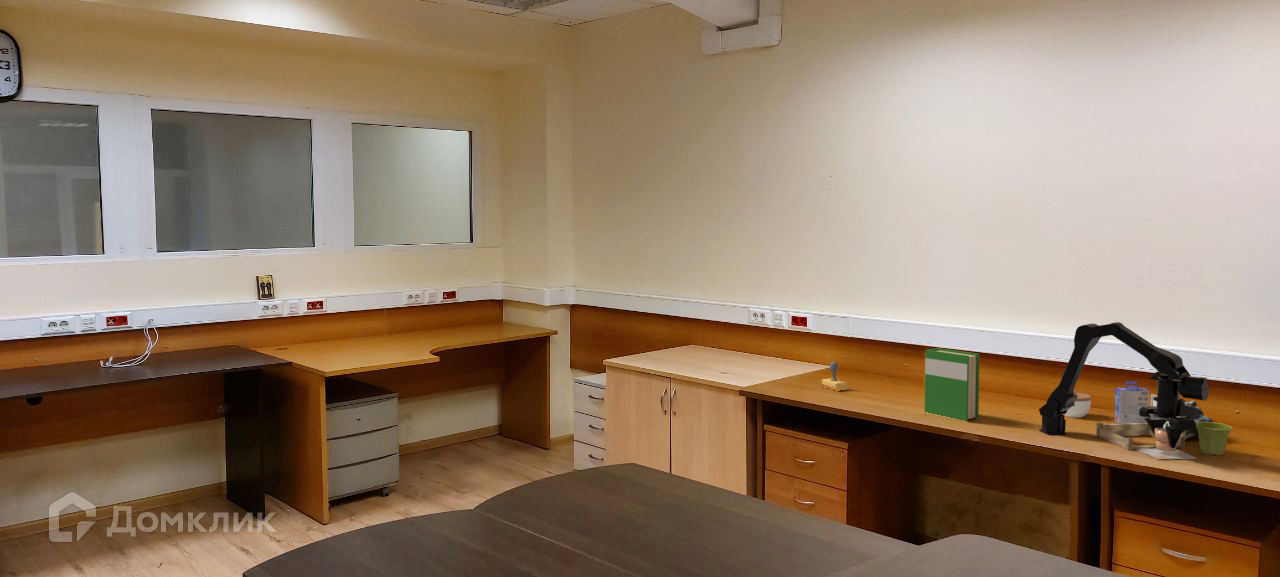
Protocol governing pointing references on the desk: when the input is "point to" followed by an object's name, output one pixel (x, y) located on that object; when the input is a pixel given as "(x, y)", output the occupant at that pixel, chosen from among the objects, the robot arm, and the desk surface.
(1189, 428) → the robot arm
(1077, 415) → the lidded jar
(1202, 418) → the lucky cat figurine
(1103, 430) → the frame
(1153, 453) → the stone tile
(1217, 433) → the plant pot
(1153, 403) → the lid pane
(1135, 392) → the ink cartridge box
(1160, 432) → the seedling pot
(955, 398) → the hardback book
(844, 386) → the rubber stamp
